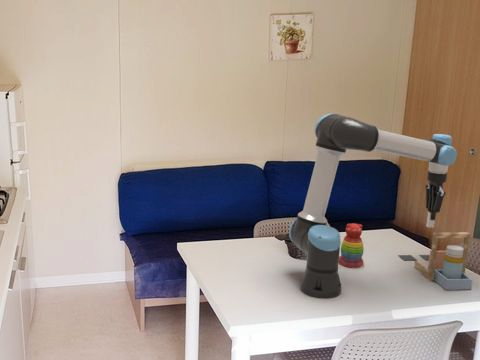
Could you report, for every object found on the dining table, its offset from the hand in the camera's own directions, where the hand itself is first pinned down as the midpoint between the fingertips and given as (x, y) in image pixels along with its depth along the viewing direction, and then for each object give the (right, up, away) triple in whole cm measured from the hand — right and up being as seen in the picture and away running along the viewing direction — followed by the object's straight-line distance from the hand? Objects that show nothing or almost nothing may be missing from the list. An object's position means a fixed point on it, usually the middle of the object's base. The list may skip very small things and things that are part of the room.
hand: (430, 226), depth 230 cm
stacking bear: (-33, -16, +2) cm, 37 cm away
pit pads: (-1, -15, +12) cm, 19 cm away
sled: (+2, -20, -13) cm, 24 cm away
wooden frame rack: (+1, -19, -6) cm, 20 cm away
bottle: (+3, -21, -15) cm, 26 cm away
